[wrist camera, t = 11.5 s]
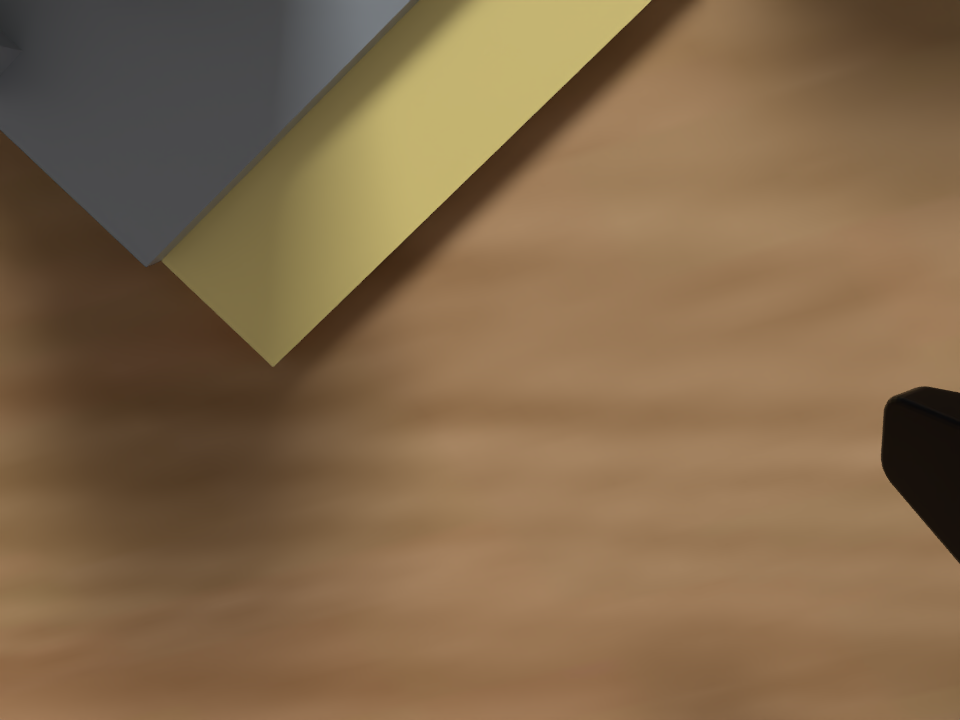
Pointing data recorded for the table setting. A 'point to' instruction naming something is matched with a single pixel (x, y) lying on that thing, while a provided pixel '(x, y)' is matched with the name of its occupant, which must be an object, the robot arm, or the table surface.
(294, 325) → the dock
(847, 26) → the table surface
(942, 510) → the robot arm
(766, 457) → the table surface
